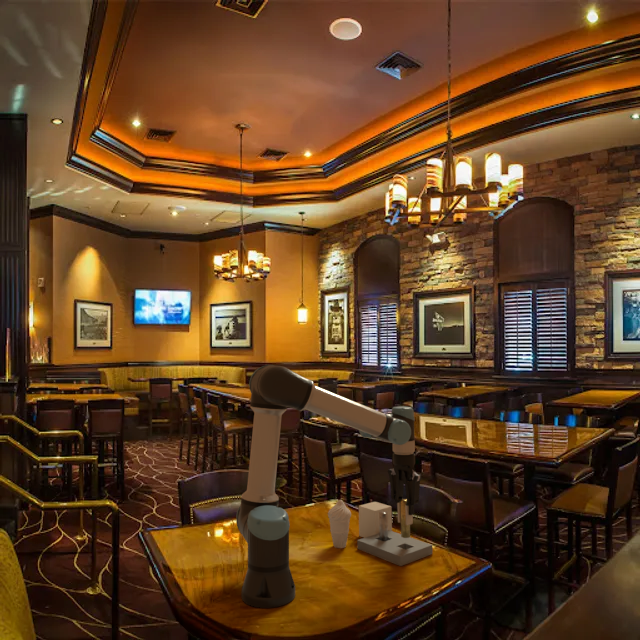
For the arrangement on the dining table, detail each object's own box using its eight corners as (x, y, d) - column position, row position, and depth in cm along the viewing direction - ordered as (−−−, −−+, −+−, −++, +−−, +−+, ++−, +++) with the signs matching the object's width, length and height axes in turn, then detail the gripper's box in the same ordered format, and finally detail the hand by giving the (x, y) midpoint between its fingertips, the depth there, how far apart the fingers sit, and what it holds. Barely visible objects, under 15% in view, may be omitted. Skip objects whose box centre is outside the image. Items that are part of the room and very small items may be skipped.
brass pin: (406, 538, 179) (405, 502, 179) (399, 536, 181) (398, 500, 182) (412, 536, 181) (411, 500, 181) (405, 534, 183) (404, 498, 184)
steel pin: (384, 549, 186) (383, 514, 187) (377, 547, 188) (377, 512, 189) (389, 547, 188) (389, 512, 189) (383, 545, 190) (383, 510, 191)
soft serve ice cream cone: (342, 552, 184) (342, 504, 185) (323, 547, 189) (322, 500, 190) (356, 545, 190) (355, 499, 191) (336, 540, 195) (336, 495, 196)
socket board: (400, 566, 171) (400, 556, 172) (357, 548, 187) (357, 540, 187) (432, 553, 182) (432, 544, 182) (389, 538, 197) (389, 530, 197)
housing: (375, 541, 193) (375, 510, 194) (359, 535, 200) (358, 505, 201) (392, 536, 199) (391, 506, 200) (375, 530, 206) (375, 501, 206)
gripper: (429, 454, 179) (431, 526, 177) (394, 448, 191) (395, 515, 190) (414, 457, 174) (416, 531, 172) (379, 450, 186) (380, 519, 185)
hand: (405, 522), depth 181 cm, fingers closed on brass pin, 3 cm apart
